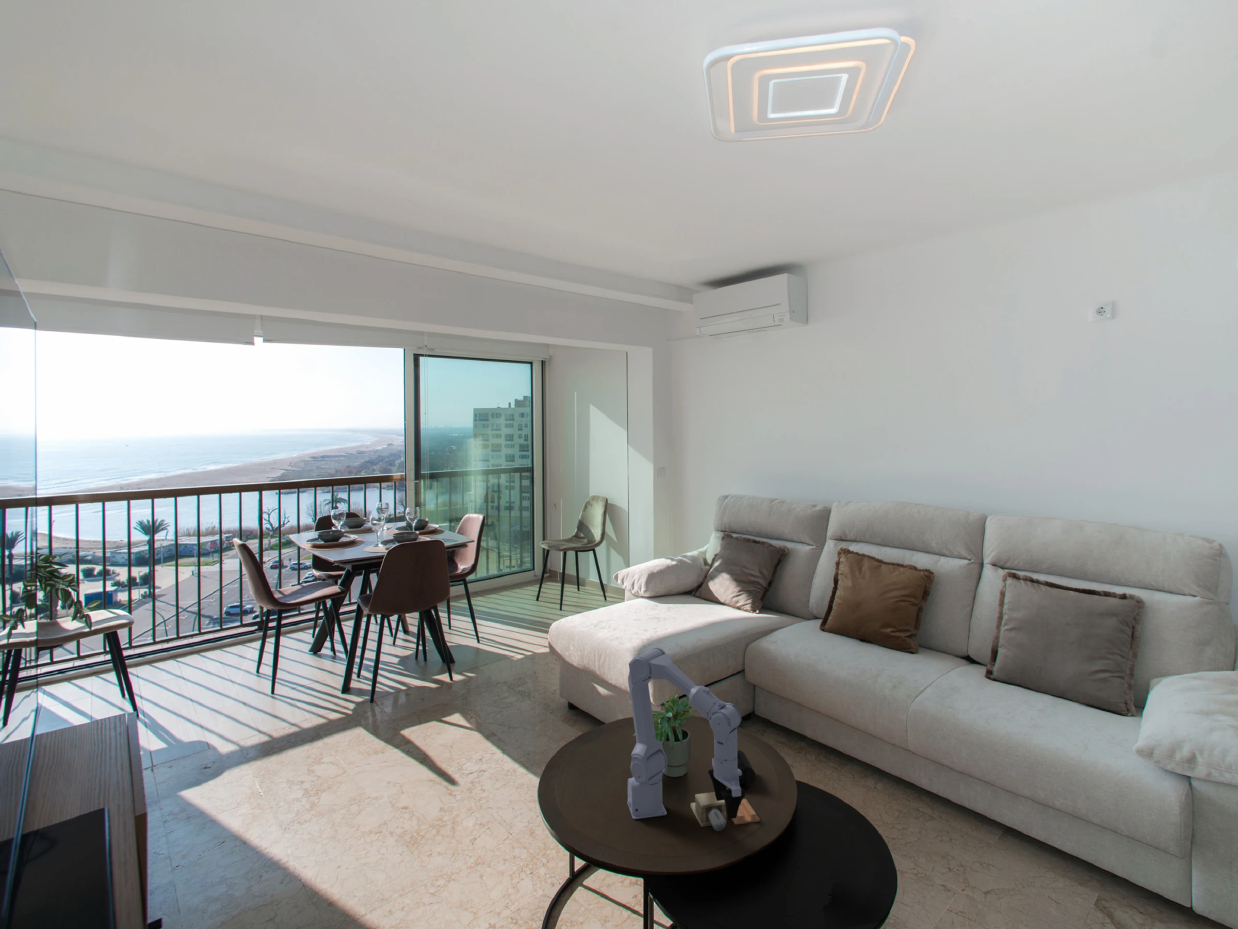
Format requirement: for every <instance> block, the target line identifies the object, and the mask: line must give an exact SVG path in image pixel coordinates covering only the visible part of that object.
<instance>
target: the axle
mask: <svg viewBox="0 0 1238 929" xmlns="http://www.w3.org/2000/svg"><path fill="white" fill-rule="evenodd" d="M706 816H707V817H708V819H709V821H710V823H711V824H712V825H711V826H712V828H713V830H714V831H716V832H719V831H722V830H724V829H725V828H726V825H727V820H726V821H725V819H724V817H723V816H722V814H721V812H720V811H719V809H718V807H717V806H709V807H706Z"/></svg>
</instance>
